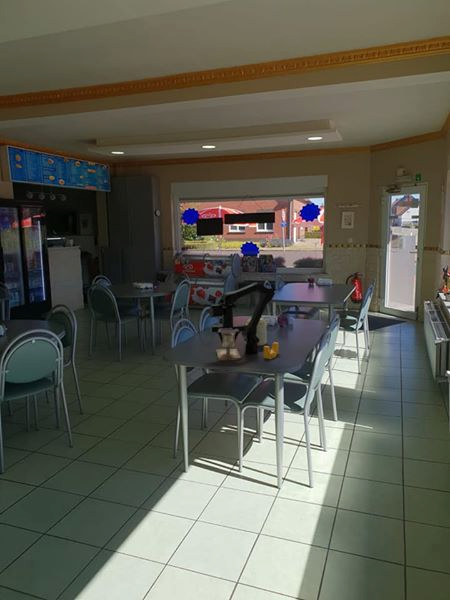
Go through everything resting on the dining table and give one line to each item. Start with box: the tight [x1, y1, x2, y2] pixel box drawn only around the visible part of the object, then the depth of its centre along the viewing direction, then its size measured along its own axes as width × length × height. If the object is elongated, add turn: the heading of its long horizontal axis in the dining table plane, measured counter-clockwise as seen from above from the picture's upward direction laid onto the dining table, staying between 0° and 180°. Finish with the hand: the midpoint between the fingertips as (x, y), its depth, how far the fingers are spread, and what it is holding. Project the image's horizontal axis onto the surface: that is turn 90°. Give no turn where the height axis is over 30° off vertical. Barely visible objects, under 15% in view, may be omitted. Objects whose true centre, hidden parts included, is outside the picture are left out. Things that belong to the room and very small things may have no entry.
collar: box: [221, 332, 236, 348], centre depth 259 cm, size 6×6×6 cm
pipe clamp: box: [263, 342, 279, 360], centre depth 259 cm, size 12×4×6 cm, turn 145°
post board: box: [215, 347, 242, 361], centre depth 260 cm, size 12×18×6 cm, turn 6°
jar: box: [245, 317, 268, 347], centre depth 285 cm, size 13×13×18 cm
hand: (228, 343), depth 259 cm, fingers closed on collar, 6 cm apart
